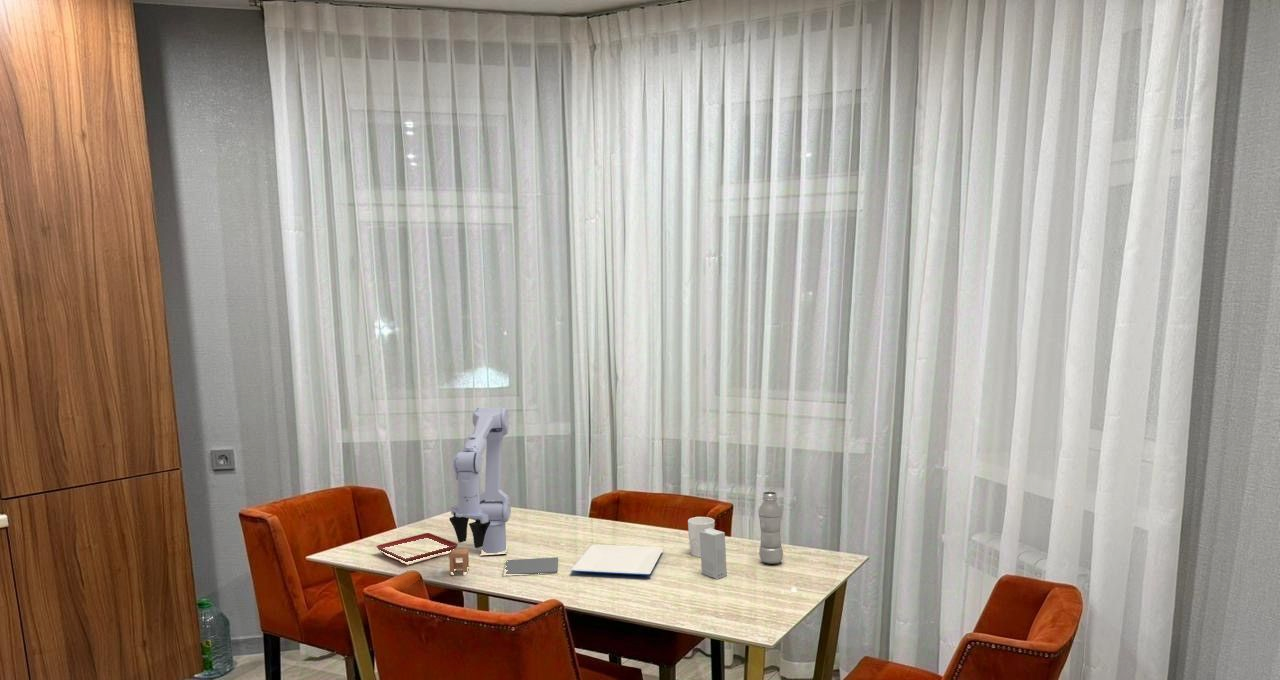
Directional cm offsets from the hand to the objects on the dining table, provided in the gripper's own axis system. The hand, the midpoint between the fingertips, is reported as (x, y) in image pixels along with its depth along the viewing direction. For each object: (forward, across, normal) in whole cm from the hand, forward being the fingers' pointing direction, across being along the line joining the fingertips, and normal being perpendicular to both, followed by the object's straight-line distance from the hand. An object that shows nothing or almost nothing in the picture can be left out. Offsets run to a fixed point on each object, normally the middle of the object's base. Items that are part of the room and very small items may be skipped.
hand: (470, 544), depth 205 cm
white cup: (+10, +37, +55) cm, 68 cm away
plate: (+10, +24, +34) cm, 43 cm away
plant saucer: (+10, -31, +2) cm, 33 cm away
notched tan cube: (+10, -7, +1) cm, 12 cm away
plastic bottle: (+10, +58, +61) cm, 85 cm away
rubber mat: (+10, +6, +16) cm, 20 cm away
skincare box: (+10, +50, +43) cm, 67 cm away
